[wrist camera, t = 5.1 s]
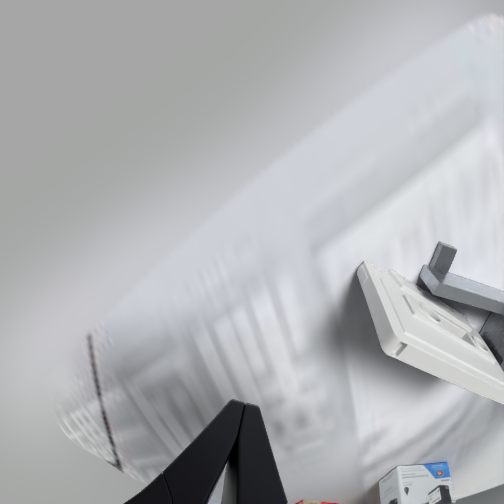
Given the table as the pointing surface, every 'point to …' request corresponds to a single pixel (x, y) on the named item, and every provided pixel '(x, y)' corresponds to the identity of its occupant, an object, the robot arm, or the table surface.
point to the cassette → (429, 333)
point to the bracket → (468, 296)
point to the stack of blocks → (312, 502)
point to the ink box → (418, 485)
